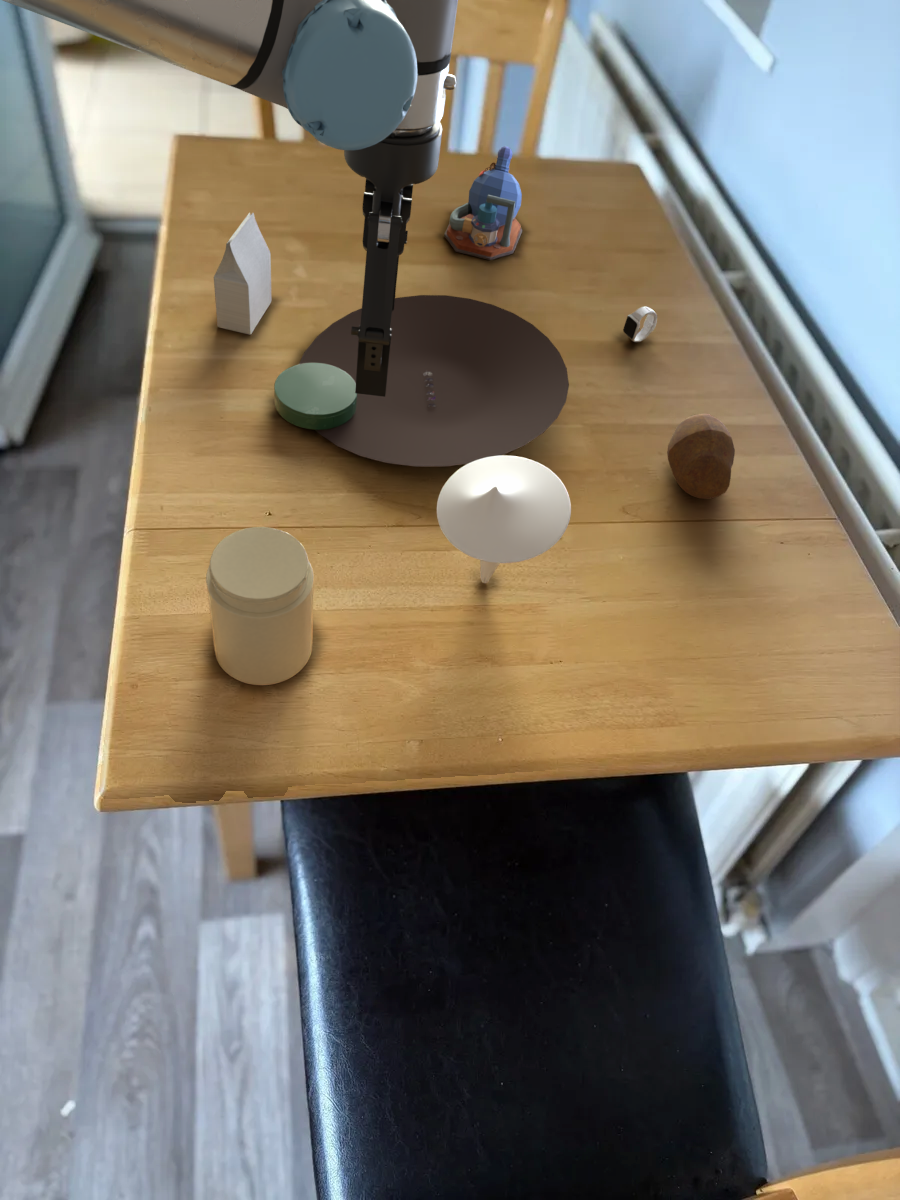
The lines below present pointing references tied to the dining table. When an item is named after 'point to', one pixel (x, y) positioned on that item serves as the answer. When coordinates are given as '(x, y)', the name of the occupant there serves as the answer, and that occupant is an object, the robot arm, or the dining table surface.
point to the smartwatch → (634, 324)
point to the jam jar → (261, 605)
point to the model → (488, 213)
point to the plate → (448, 383)
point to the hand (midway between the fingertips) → (375, 347)
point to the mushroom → (503, 510)
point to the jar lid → (315, 396)
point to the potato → (701, 456)
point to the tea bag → (243, 279)
